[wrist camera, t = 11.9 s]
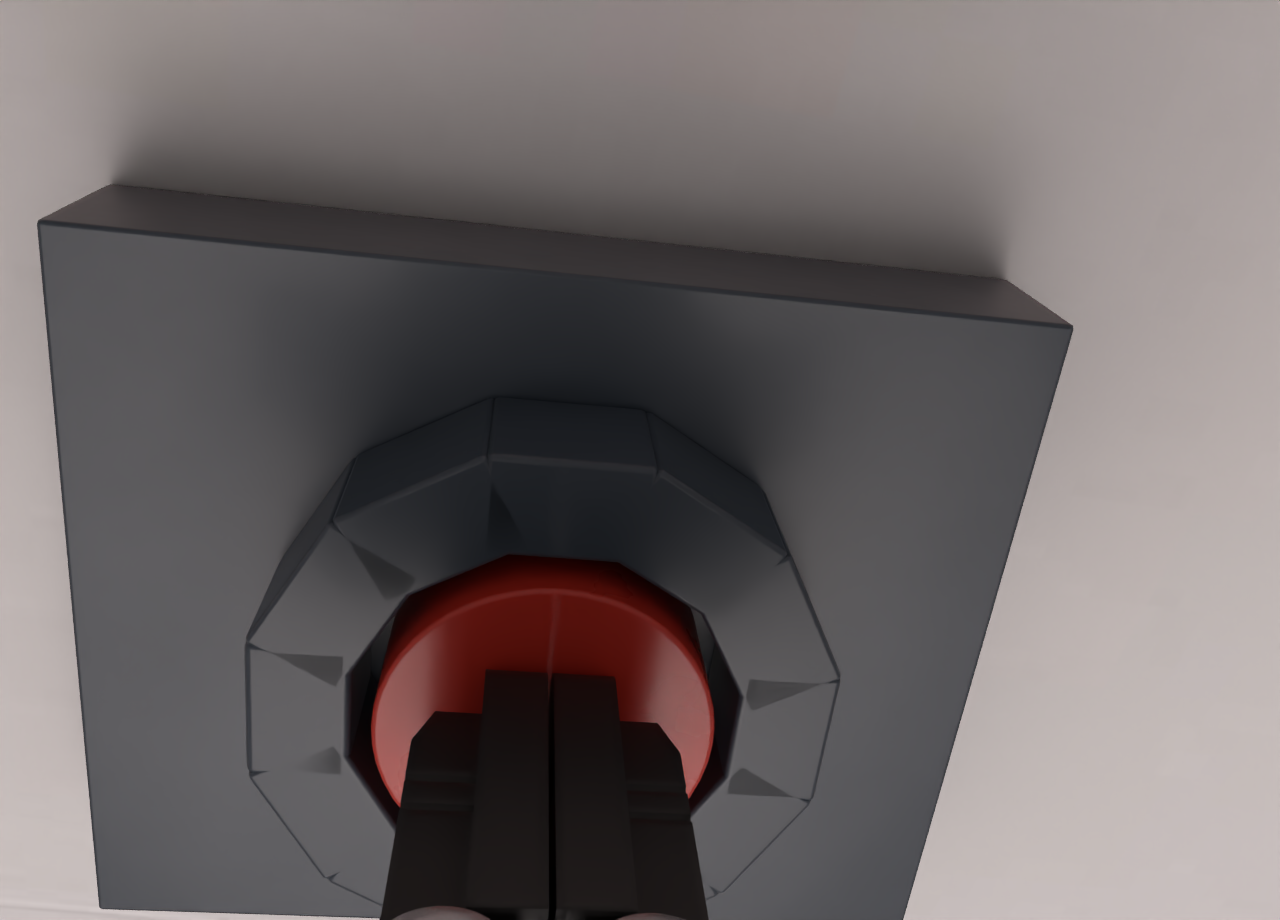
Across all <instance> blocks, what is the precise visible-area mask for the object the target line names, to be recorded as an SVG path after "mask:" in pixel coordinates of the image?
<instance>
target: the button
mask: <svg viewBox="0 0 1280 920" xmlns="http://www.w3.org/2000/svg"><path fill="white" fill-rule="evenodd" d="M486 669H491V670H508V671H525V672H542V673H548V703H549V694H550V685H551V678H552V674H553V673H563V674H580V675H597V676H614V677H615V680H616V687H617V698H618V708H619V718H620V721H632V722H651V723H658V724H659V725H660V727H661V728H662V729H663V731H664V732H665V733H666V735H667V736H668V737H669V739H670V740H671V741H672V743H673V744H674V745H675V747H676V748H677V749H678V750H679V752H680V753H681V759H682V765H683V771H684V777H685V783H686V793H687V794H688V799H689V798H690V796H691V795H692V793H693V792H694V790H695V788H696V787H697V785H698V783H699V782H700V780H701V778H702V775H703V773H704V771H705V768H706V766H707V764H708V761H709V757H710V754H711V750H712V746H713V739H714V729H715V720H714V707H713V702H712V697H711V693H710V688H709V684H708V679H707V675H706V670H705V666H704V661H703V657H702V652H701V648H700V643H699V639H698V634H697V630H696V625H695V621H694V616H693V614H692V611H691V609H690V607H689V606H687V605H686V604H684V603H683V602H681V601H679V600H678V599H676V598H675V597H673V596H671V595H670V594H668V593H667V592H665V591H663V590H662V589H660V588H659V587H657V586H655V585H654V584H652V583H650V582H649V581H647V580H646V579H644V578H642V577H641V576H639V575H638V574H636V573H634V572H633V571H631V570H630V569H628V568H626V567H625V566H623V565H622V564H620V563H618V562H607V561H593V560H579V559H565V558H551V557H537V556H523V555H509V554H508V555H506V556H503V557H501V558H498V559H496V560H494V561H491V562H489V563H486V564H484V565H482V566H479V567H477V568H474V569H472V570H470V571H467V572H465V573H462V574H460V575H457V576H455V577H453V578H450V579H448V580H445V581H443V582H441V583H438V584H436V585H433V586H431V587H429V588H426V589H424V590H421V591H419V592H416V593H414V594H412V595H410V596H409V597H408V598H407V600H406V601H405V602H404V604H403V605H402V606H401V608H400V609H399V610H398V612H397V613H396V615H395V618H394V622H393V625H392V629H391V633H390V637H389V641H388V645H387V650H386V654H385V658H384V662H383V667H382V671H381V675H380V680H379V684H378V688H377V692H376V697H375V701H374V705H373V711H372V720H371V741H372V748H373V753H374V758H375V762H376V765H377V768H378V770H379V773H380V775H381V778H382V780H383V783H384V784H385V786H386V788H387V789H388V791H389V793H390V795H391V796H392V798H393V800H394V801H395V802H396V803H397V805H398V806H399V807H400V803H401V796H402V791H403V785H404V780H405V773H406V767H407V762H408V756H409V750H410V744H411V739H412V738H413V737H414V736H415V735H416V733H417V732H418V731H419V730H420V729H421V727H422V726H423V725H424V724H425V723H426V721H427V720H428V719H429V718H430V717H431V716H432V714H433V713H434V712H435V711H443V712H461V713H480V714H482V707H483V695H484V683H485V671H486Z"/></svg>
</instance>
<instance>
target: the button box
mask: <svg viewBox="0 0 1280 920" xmlns="http://www.w3.org/2000/svg"><path fill="white" fill-rule="evenodd" d="M37 228H38V239H39V250H40V261H41V272H42V283H43V294H44V305H45V316H46V327H47V338H48V349H49V360H50V371H51V381H52V392H53V403H54V414H55V425H56V436H57V447H58V458H59V469H60V480H61V491H62V502H63V513H64V524H65V535H66V546H67V557H68V568H69V579H70V590H71V601H72V612H73V623H74V634H75V645H76V656H77V667H78V678H79V689H80V700H81V711H82V721H83V732H84V743H85V754H86V765H87V776H88V787H89V798H90V809H91V820H92V831H93V842H94V853H95V864H96V875H97V886H98V897H99V907H100V908H101V909H118V910H148V911H179V912H209V913H239V914H269V915H299V916H329V917H359V918H380V917H381V912H382V907H383V901H384V895H385V889H386V883H387V878H388V872H389V866H390V860H391V854H392V849H393V843H394V837H395V831H396V825H397V820H398V814H399V809H400V807H399V806H398V805H397V803H396V802H395V801H394V800H393V798H392V796H391V795H390V793H389V791H388V789H387V788H386V786H385V784H384V783H383V780H382V778H381V775H380V773H379V770H378V768H377V765H376V762H375V758H374V753H373V748H372V741H371V720H372V711H373V705H374V701H375V697H376V692H377V688H378V684H379V680H380V675H381V671H382V667H383V662H384V658H385V654H386V650H387V645H388V641H389V637H390V633H391V629H392V625H393V622H394V618H395V615H396V613H397V612H398V610H399V609H400V608H401V606H402V605H403V604H404V602H405V601H406V600H407V598H408V597H409V596H410V595H412V594H414V593H416V592H419V591H421V590H424V589H426V588H429V587H431V586H433V585H436V584H438V583H441V582H443V581H445V580H448V579H450V578H453V577H455V576H457V575H460V574H462V573H465V572H467V571H470V570H472V569H474V568H477V567H479V566H482V565H484V564H486V563H489V562H491V561H494V560H496V559H498V558H501V557H503V556H506V555H508V554H509V555H523V556H537V557H551V558H565V559H579V560H593V561H607V562H618V563H620V564H622V565H623V566H625V567H626V568H628V569H630V570H631V571H633V572H634V573H636V574H638V575H639V576H641V577H642V578H644V579H646V580H647V581H649V582H650V583H652V584H654V585H655V586H657V587H659V588H660V589H662V590H663V591H665V592H667V593H668V594H670V595H671V596H673V597H675V598H676V599H678V600H679V601H681V602H683V603H684V604H686V605H687V606H689V607H690V609H691V611H692V614H693V616H694V621H695V625H696V630H697V634H698V639H699V643H700V648H701V652H702V657H703V661H704V666H705V670H706V675H707V679H708V684H709V688H710V693H711V697H712V702H713V707H714V720H715V729H714V739H713V746H712V750H711V754H710V757H709V761H708V764H707V766H706V768H705V771H704V773H703V775H702V778H701V780H700V782H699V783H698V785H697V787H696V788H695V790H694V792H693V793H692V795H691V796H690V798H689V799H688V800H689V806H690V812H691V821H692V824H693V830H694V835H695V841H696V847H697V853H698V859H699V865H700V871H701V876H702V882H703V888H704V894H705V900H706V906H707V912H708V918H709V920H903V918H904V915H905V911H906V908H907V904H908V901H909V897H910V894H911V890H912V887H913V883H914V880H915V877H916V873H917V870H918V866H919V863H920V859H921V856H922V852H923V849H924V845H925V842H926V838H927V835H928V832H929V828H930V825H931V821H932V818H933V814H934V811H935V807H936V804H937V800H938V797H939V793H940V790H941V786H942V783H943V780H944V776H945V773H946V769H947V766H948V762H949V759H950V755H951V752H952V748H953V745H954V741H955V738H956V734H957V731H958V728H959V724H960V721H961V717H962V714H963V710H964V707H965V703H966V700H967V696H968V693H969V689H970V686H971V682H972V679H973V676H974V672H975V669H976V665H977V662H978V658H979V655H980V651H981V648H982V644H983V641H984V637H985V634H986V630H987V627H988V624H989V620H990V617H991V613H992V610H993V606H994V603H995V599H996V596H997V592H998V589H999V585H1000V582H1001V578H1002V575H1003V572H1004V568H1005V565H1006V561H1007V558H1008V554H1009V551H1010V547H1011V544H1012V540H1013V537H1014V533H1015V530H1016V526H1017V523H1018V520H1019V516H1020V513H1021V509H1022V506H1023V502H1024V499H1025V495H1026V492H1027V488H1028V485H1029V481H1030V478H1031V474H1032V471H1033V468H1034V464H1035V461H1036V457H1037V454H1038V450H1039V447H1040V443H1041V440H1042V436H1043V433H1044V429H1045V426H1046V423H1047V419H1048V416H1049V412H1050V409H1051V405H1052V402H1053V398H1054V395H1055V391H1056V388H1057V384H1058V381H1059V377H1060V374H1061V371H1062V367H1063V364H1064V360H1065V357H1066V353H1067V350H1068V346H1069V343H1070V339H1071V336H1072V332H1073V326H1072V325H1071V324H1070V323H1068V322H1067V321H1065V320H1064V319H1062V318H1061V317H1059V316H1058V315H1057V314H1055V313H1054V312H1052V311H1051V310H1049V309H1048V308H1046V307H1045V306H1044V305H1042V304H1041V303H1039V302H1038V301H1036V300H1035V299H1033V298H1032V297H1031V296H1029V295H1028V294H1026V293H1025V292H1023V291H1022V290H1020V289H1019V288H1018V287H1016V286H1015V285H1013V284H1012V283H1010V282H1009V281H1007V280H1004V279H994V278H985V277H975V276H966V275H957V274H947V273H938V272H928V271H919V270H910V269H900V268H891V267H881V266H872V265H863V264H853V263H844V262H834V261H825V260H816V259H806V258H797V257H787V256H778V255H769V254H759V253H750V252H740V251H731V250H722V249H712V248H703V247H693V246H684V245H675V244H665V243H656V242H646V241H637V240H628V239H618V238H609V237H599V236H590V235H581V234H571V233H562V232H552V231H543V230H534V229H524V228H515V227H505V226H496V225H487V224H477V223H468V222H458V221H449V220H440V219H430V218H421V217H411V216H402V215H393V214H383V213H374V212H364V211H355V210H346V209H336V208H327V207H317V206H308V205H299V204H289V203H280V202H270V201H261V200H252V199H242V198H233V197H223V196H214V195H205V194H195V193H186V192H176V191H167V190H158V189H148V188H139V187H129V186H120V185H111V184H110V185H107V186H105V187H103V188H101V189H99V190H97V191H95V192H93V193H91V194H89V195H87V196H85V197H83V198H81V199H79V200H77V201H75V202H73V203H71V204H69V205H67V206H65V207H63V208H61V209H60V210H58V211H56V212H54V213H52V214H50V215H48V216H46V217H44V218H42V219H40V220H38V223H37Z"/></svg>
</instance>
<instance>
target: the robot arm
mask: <svg viewBox="0 0 1280 920" xmlns="http://www.w3.org/2000/svg"><path fill="white" fill-rule="evenodd" d="M380 920H709V918H708V912H707V906H706V900H705V894H704V888H703V882H702V876H701V871H700V865H699V859H698V853H697V847H696V841H695V835H694V830H693V824H692V821H691V812H690V806H689V800H688V794H687V793H686V783H685V777H684V771H683V765H682V759H681V753H680V752H679V750H678V749H677V748H676V747H675V745H674V744H673V743H672V741H671V740H670V739H669V737H668V736H667V735H666V733H665V732H664V731H663V729H662V728H661V727H660V725H659V724H658V723H651V722H632V721H620V718H619V708H618V698H617V687H616V680H615V677H614V676H597V675H580V674H563V673H553V674H552V678H551V685H550V694H549V703H548V673H542V672H525V671H508V670H491V669H486V671H485V683H484V695H483V707H482V714H480V713H461V712H443V711H435V712H434V713H433V714H432V716H431V717H430V718H429V719H428V720H427V721H426V723H425V724H424V725H423V726H422V727H421V729H420V730H419V731H418V732H417V733H416V735H415V736H414V737H413V738H412V739H411V744H410V750H409V756H408V762H407V767H406V773H405V780H404V785H403V791H402V796H401V803H400V809H399V814H398V820H397V825H396V831H395V837H394V843H393V849H392V854H391V860H390V866H389V872H388V878H387V883H386V889H385V895H384V901H383V907H382V912H381V917H380Z"/></svg>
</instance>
